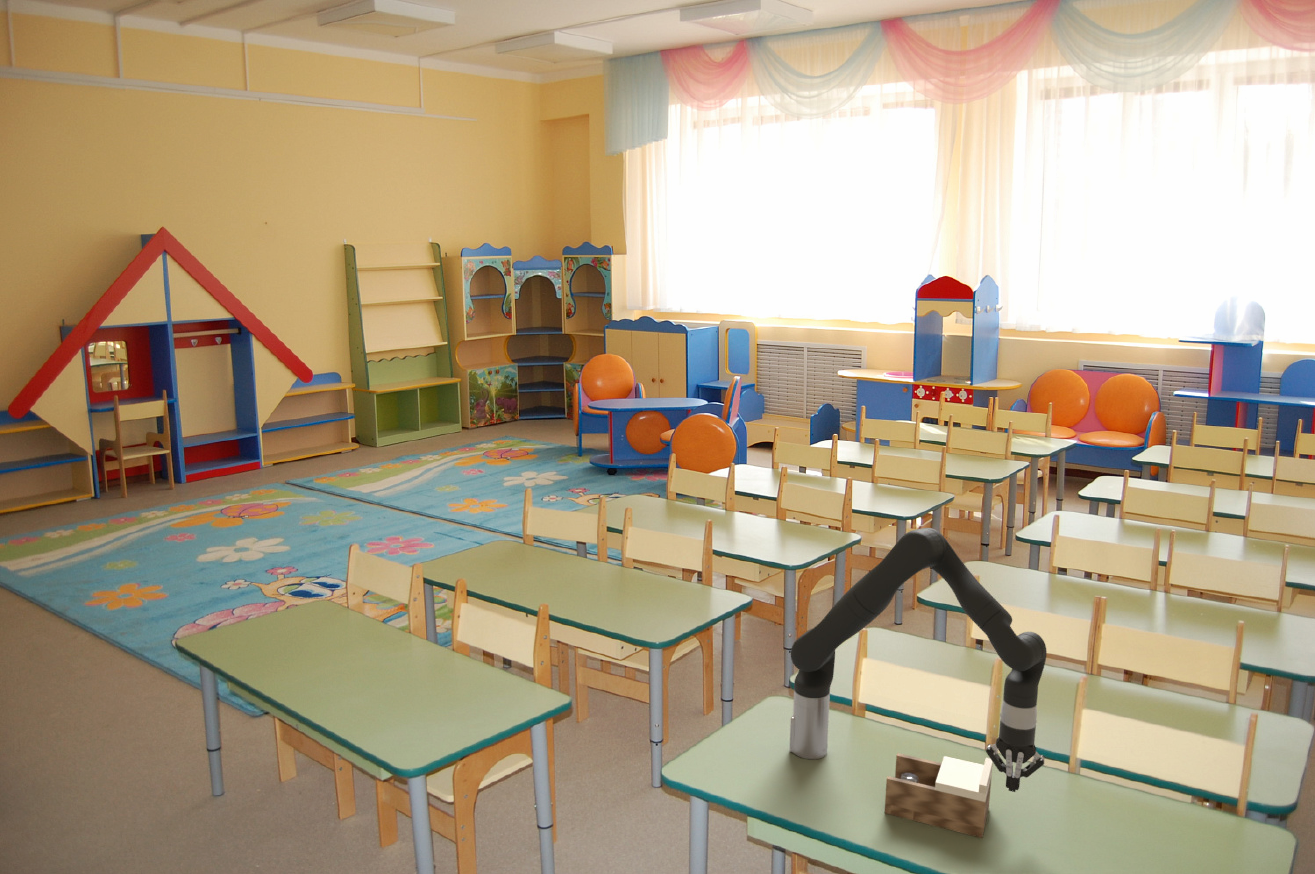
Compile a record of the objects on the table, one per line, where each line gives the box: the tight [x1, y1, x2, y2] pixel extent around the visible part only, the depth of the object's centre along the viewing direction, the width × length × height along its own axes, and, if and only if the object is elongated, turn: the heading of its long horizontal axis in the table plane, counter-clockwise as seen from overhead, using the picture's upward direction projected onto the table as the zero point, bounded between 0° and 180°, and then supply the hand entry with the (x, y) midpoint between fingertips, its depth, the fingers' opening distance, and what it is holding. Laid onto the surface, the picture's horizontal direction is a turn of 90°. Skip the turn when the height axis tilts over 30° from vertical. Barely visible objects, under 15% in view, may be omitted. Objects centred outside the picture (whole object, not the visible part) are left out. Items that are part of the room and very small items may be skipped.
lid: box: [935, 755, 994, 802], centre depth 222 cm, size 11×12×4 cm
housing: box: [884, 752, 992, 839], centre depth 225 cm, size 22×12×9 cm, turn 65°
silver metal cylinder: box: [901, 773, 918, 783], centre depth 228 cm, size 4×4×7 cm
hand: (1012, 789), depth 218 cm, fingers closed
